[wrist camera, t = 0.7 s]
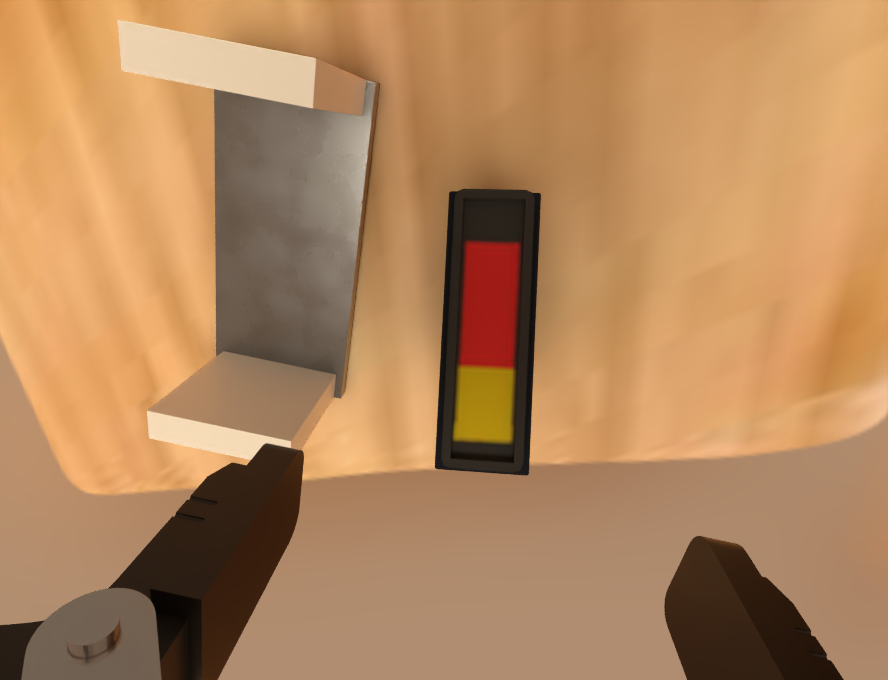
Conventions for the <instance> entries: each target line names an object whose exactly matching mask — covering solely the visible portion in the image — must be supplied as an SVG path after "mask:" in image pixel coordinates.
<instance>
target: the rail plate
mask: <svg viewBox="0 0 888 680" xmlns="http://www.w3.org/2000/svg"><path fill="white" fill-rule="evenodd" d="M379 85H380V84H379V83H377V82H373V81H368V80H367V81H366V90H365V100H364V110H363V116H357V115H351V114H345V113H338V112H332V111H326V110H319V109H313V108H308V107H303V106H298V105H293V104H287V103H282V102H277V101H272V100H267V99H262V98H257V97H252V96H247V95H242V94H237V93H232V92H227V91H221V90H216V89H214V103H215V233H216V356H218V355H219V354H220V353H222V352H223V351H225V352H230V353H235V354H240V355H245V356H249V357H254V358H259V359H264V360H268V361H273V362H278V363H283V364H288V365H292V366H297V367H302V368H307V369H312V370H316V371H321V372H326V373H331V374H335V375H336V381H335V391H334V397H336V398H341V397H342V396H343V394H344V392H345V386H346V378H347V369H348V360H349V351H350V342H351V333H352V324H353V316H354V307H355V298H356V289H357V280H358V271H359V262H360V254H361V245H362V236H363V227H364V218H365V209H366V201H367V192H368V183H369V174H370V165H371V156H372V147H373V139H374V130H375V121H376V112H377V103H378V94H379Z"/></svg>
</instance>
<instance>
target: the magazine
mask: <svg viewBox="0 0 888 680" xmlns="http://www.w3.org/2000/svg"><path fill="white" fill-rule="evenodd" d="M540 203H541V194H540V193H532V192H529V191H527V190H494V189H462V190H460V191H451V192H450V193H449V209H448V228H447V247H446V266H445V285H444V304H443V323H442V342H441V361H440V380H439V399H438V418H437V437H436V456H435V468H436V469H444V470H458V471H473V472H486V473H500V474H513V475H528V474H529V458H530V435H531V412H532V389H533V366H534V342H535V319H536V296H537V273H538V250H539V227H540Z"/></svg>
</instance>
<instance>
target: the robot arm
mask: <svg viewBox="0 0 888 680" xmlns="http://www.w3.org/2000/svg"><path fill="white" fill-rule="evenodd" d="M303 462H304V454H303V451H302V450H297V449H293V448H288V447H283V446H279V445H274V444H269V443H266V444H264V445H263V446H262V447H261V448H260V449H259V451H258V452H257V453H256V454H255V456H254V457H253V458H252V459H251V461H250V462H249V463H248V465H247V466H246V465H241V464H237V463H230V464H229V465H227V466H225V467H223V468H222V469H220V470H218V471H217V472H215V473H213V474H211V475H210V476H208V477H207V478H206V479H205V480H204V481H203V482H202V484H201V485H200V486H199V487H198V488H197V489H196V490H195V491H194V493H193V494H192V495H191V497H190V499H189V500H187V501H186V502H185V503H184V504H183V505H182V506H181V507H180V509H179V510H178V511H177V512H176V515H175V517H172V518H171V519H170V520H169V521H168V522H167V523H166V524H165V526H164V527H163V528H162V529H161V530H160V531H159V532H158V534H157V535H156V536H155V537H154V538H153V539H152V540H151V542H150V543H149V544H148V545H147V546H146V547H145V548H144V549H143V550H142V552H141V553H140V554H139V555H138V556H137V557H136V558H135V560H134V561H133V562H132V563H131V564H130V565H129V566H128V568H127V569H126V570H125V571H124V572H123V573H122V574H121V576H120V577H119V578H118V579H117V580H116V581H115V582H114V583H113V584H112V585H111V586H110V587H109V588H108V589H103V590H99V591H94V592H91V593H88V594H85V595H83V596H81V597H78V598H76V599H74V600H72V601H70V602H69V603H67V604H65V605H64V606H62V607H61V608H59V609H58V610H56V611H55V612H54V613H52V614H51V615H50V616H49V617H48V618H47V619H46V620H44V621H39V622H32V623H22V624H10V625H0V680H217V679H218V678H219V676H220V674H221V672H222V670H223V668H224V666H225V664H226V662H227V660H228V659H229V656H230V655H231V653H232V651H233V649H234V647H235V645H236V643H237V641H238V639H239V637H240V636H241V634H242V631H243V630H244V628H245V626H246V624H247V622H248V620H249V618H250V616H251V615H252V613H253V611H254V609H255V607H256V605H257V603H258V601H259V599H260V597H261V595H262V594H263V592H264V590H265V588H266V586H267V584H268V582H269V580H270V578H271V576H272V574H273V572H274V570H275V569H276V567H277V565H278V563H279V561H280V559H281V557H282V555H283V553H284V551H285V550H286V548H287V546H288V544H289V542H290V539H291V537H292V534H293V532H294V529H295V526H296V522H297V519H298V514H299V506H300V496H301V485H302V473H303ZM665 618H666V622H667V626H668V629H669V631H670V634H671V637H672V640H673V642H674V645H675V648H676V651H677V653H678V656H679V659H680V661H681V664H682V667H683V670H684V672H685V675H686V678H687V680H843V678H842V676H841V675H840V673H839V672H838V671H837V669H836V668H835V666H834V664H833V663H832V662H831V661H830V660H827V657H826V656H827V654H826V652H825V651H824V649H823V648H822V646H821V645H820V643H819V642H818V640H817V639H816V637H814V636H811V630H810V628H809V627H808V625H807V624H806V622H805V621H804V619H803V618H802V616H801V615H800V613H799V612H798V610H797V609H796V607H795V606H794V604H793V603H792V602H791V601H790V600H789V599H788V598H787V597H786V596H785V595H784V594H783V593H782V592H781V591H780V590H779V589H777V587H776V586H775V585H773V584H772V583H771V582H770V581H769V580H768V579H767V578H765V577H762V576H761V575H760V573H759V571H758V570H757V568H756V567H755V565H754V564H753V562H752V560H751V559H750V557H749V556H748V554H747V553H746V551H745V550H744V548H743V547H742V546H740V545H738V544H735V543H731V542H726V541H721V540H716V539H712V538H707V537H702V536H697V537H695V538H693V539H692V541H691V542H690V544H689V546H688V548H687V550H686V552H685V554H684V556H683V558H682V560H681V563H680V565H679V567H678V569H677V571H676V573H675V575H674V577H673V579H672V581H671V584H670V586H669V587H668V590H667V593H666V597H665Z"/></svg>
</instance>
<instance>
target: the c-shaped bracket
mask: <svg viewBox="0 0 888 680" xmlns="http://www.w3.org/2000/svg"><path fill="white" fill-rule="evenodd" d="M118 28H119V41H120V55H121V68H122V71H125V72H130V73H135V74H140V75H145V76H150V77H155V78H161V79H166V80H171V81H176V82H181V83H186V84H191V85H196V86H201V87H206V88H211V89H216V90H221V91H227V92H232V93H237V94H242V95H247V96H252V97H257V98H262V99H267V100H272V101H277V102H282V103H287V104H293V105H298V106H303V107H308V108H313V109H319V110H326V111H332V112H338V113H345V114H351V115H357V116H363V110H364V100H365V90H366V81H367V80H365V79H363V78H360V77H358V76H356V75H353V74H351V73H349V72H347V71H344V70H342V69H340V68H337V67H335V66H333V65H331V64H328V63H326V62H324V61H321V60H319V59H317V58H313V57H308V56H303V55H297V54H292V53H287V52H282V51H277V50H272V49H267V48H261V47H256V46H251V45H246V44H241V43H236V42H231V41H226V40H220V39H215V38H210V37H205V36H200V35H195V34H190V33H184V32H179V31H174V30H169V29H164V28H159V27H154V26H148V25H143V24H138V23H133V22H128V21H123V20H118ZM335 381H336V375H335V374H331V373H326V372H321V371H316V370H312V369H307V368H302V367H297V366H292V365H288V364H283V363H278V362H273V361H268V360H264V359H259V358H254V357H249V356H245V355H240V354H235V353H230V352H225V351H223V352H222V353H220V354H219V355H218V356H216V357H215V358H214V359H213V360H211V361H210V362H209V363H208V364H206V365H205V366H204V367H202V368H201V369H200V370H199V371H197V372H196V373H195V374H193V375H192V376H191V377H190V378H188V379H187V380H186V381H184V382H183V383H182V384H181V385H179V386H178V387H177V388H176V389H174V390H173V391H172V392H170V393H169V394H168V395H167V396H165V397H164V398H163V399H161V400H160V401H159V402H158V403H156V404H155V405H154V406H153V407H151V408H150V409H149V410H147V417H148V430H149V438H151V439H155V440H160V441H165V442H169V443H174V444H179V445H183V446H188V447H193V448H197V449H202V450H207V451H211V452H216V453H221V454H225V455H230V456H235V457H239V458H244V459H249V460H251V459H252V458H253V457H254V456H255V454H256V453H257V452H258V451H259V449H260V448H261V447H262V446H263V445H264V444H266V443H269V444H274V445H279V446H283V447H288V448H293V449H297V450H301V449H302V447H303V446H304V444H305V442H306V441H307V439H308V438H309V436H310V434H311V433H312V431H313V430H314V428H315V426H316V425H317V423H318V422H319V420H320V418H321V417H322V415H323V414H324V412H325V410H326V409H327V407H328V406H329V404H330V402H331V401H332V399H333V398H334V391H335Z"/></svg>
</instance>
